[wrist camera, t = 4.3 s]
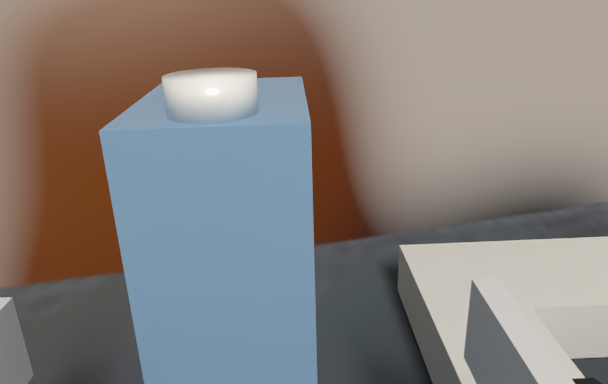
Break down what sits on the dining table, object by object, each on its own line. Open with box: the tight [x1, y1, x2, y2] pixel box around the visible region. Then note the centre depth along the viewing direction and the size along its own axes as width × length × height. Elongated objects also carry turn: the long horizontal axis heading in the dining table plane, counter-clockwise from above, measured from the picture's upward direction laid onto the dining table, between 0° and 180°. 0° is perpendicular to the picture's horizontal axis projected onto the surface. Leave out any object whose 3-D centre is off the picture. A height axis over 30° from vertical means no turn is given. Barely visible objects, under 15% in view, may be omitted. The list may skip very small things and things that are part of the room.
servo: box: [99, 68, 317, 384], centre depth 18 cm, size 11×6×15 cm, turn 2°
